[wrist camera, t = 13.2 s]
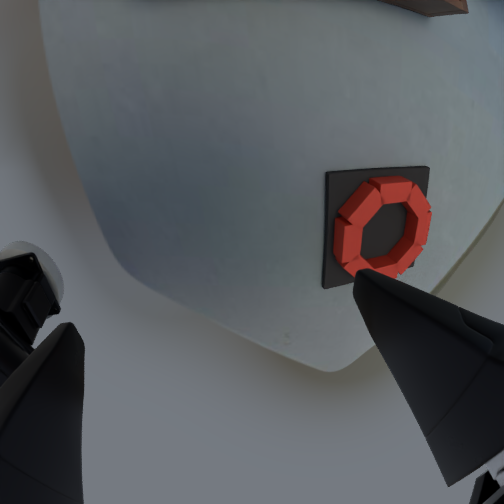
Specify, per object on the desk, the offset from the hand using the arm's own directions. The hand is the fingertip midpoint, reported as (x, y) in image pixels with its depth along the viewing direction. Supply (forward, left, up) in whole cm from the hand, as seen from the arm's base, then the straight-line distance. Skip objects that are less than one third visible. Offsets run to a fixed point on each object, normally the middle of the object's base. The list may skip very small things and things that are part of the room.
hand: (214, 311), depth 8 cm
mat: (+14, -5, -12) cm, 19 cm away
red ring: (+14, -5, -12) cm, 19 cm away
